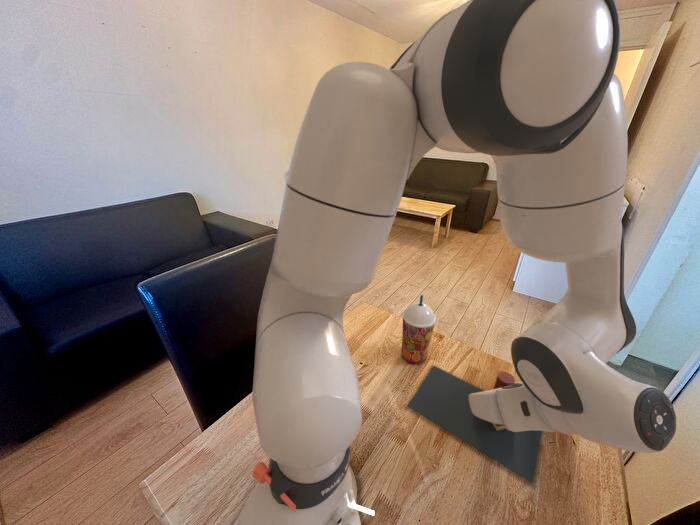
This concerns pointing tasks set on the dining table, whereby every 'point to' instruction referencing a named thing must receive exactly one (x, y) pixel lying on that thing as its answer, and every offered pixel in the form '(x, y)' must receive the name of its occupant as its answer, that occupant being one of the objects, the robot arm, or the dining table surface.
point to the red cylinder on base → (501, 381)
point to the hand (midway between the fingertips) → (497, 392)
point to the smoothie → (417, 331)
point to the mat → (474, 423)
